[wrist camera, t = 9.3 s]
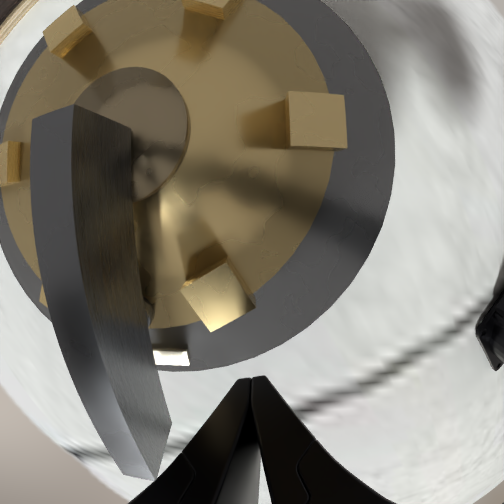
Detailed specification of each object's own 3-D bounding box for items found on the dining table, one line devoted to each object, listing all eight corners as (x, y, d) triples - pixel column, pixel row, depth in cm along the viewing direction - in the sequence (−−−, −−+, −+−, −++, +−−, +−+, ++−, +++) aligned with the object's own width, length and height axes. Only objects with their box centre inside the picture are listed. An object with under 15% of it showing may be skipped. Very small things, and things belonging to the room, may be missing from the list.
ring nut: (171, 398, 12) (144, 485, 6) (-18, 198, 9) (-89, 212, 4) (411, 165, 9) (511, 162, 4) (159, -33, 7) (128, -100, 2)
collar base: (444, 146, 11) (466, 144, 9) (192, 409, 14) (188, 431, 12) (167, -53, 7) (161, -70, 6) (-25, 196, 11) (-43, 199, 9)
